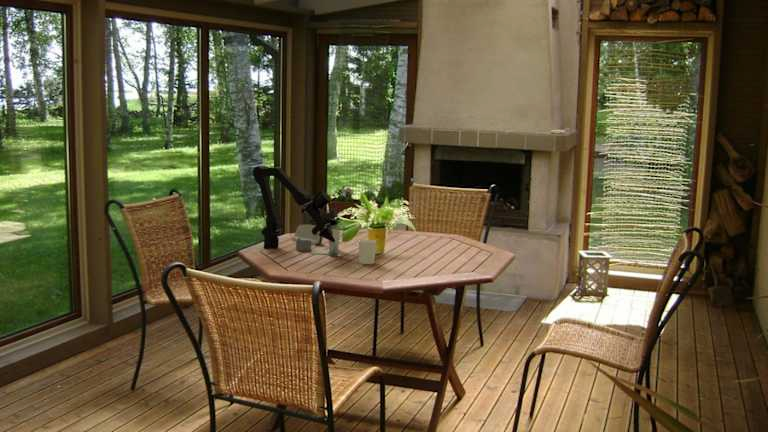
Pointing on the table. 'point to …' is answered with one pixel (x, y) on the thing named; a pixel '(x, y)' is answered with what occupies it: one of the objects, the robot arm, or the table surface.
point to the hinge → (307, 234)
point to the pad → (319, 252)
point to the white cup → (367, 251)
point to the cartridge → (334, 245)
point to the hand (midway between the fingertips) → (336, 240)
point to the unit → (303, 244)
